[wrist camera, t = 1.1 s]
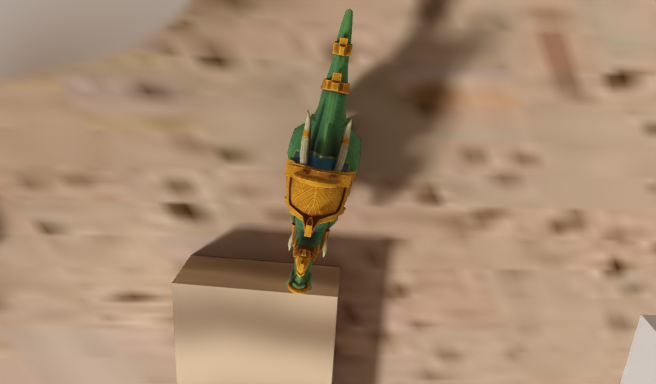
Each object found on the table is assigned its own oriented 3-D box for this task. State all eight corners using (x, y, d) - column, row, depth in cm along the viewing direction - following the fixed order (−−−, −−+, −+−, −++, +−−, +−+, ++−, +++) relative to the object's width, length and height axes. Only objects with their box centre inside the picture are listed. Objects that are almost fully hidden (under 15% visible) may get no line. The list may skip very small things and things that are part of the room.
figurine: (279, 240, 28) (247, 332, 20) (318, 0, 24) (296, 0, 16) (337, 252, 28) (326, 348, 20) (386, 13, 24) (396, 19, 16)
